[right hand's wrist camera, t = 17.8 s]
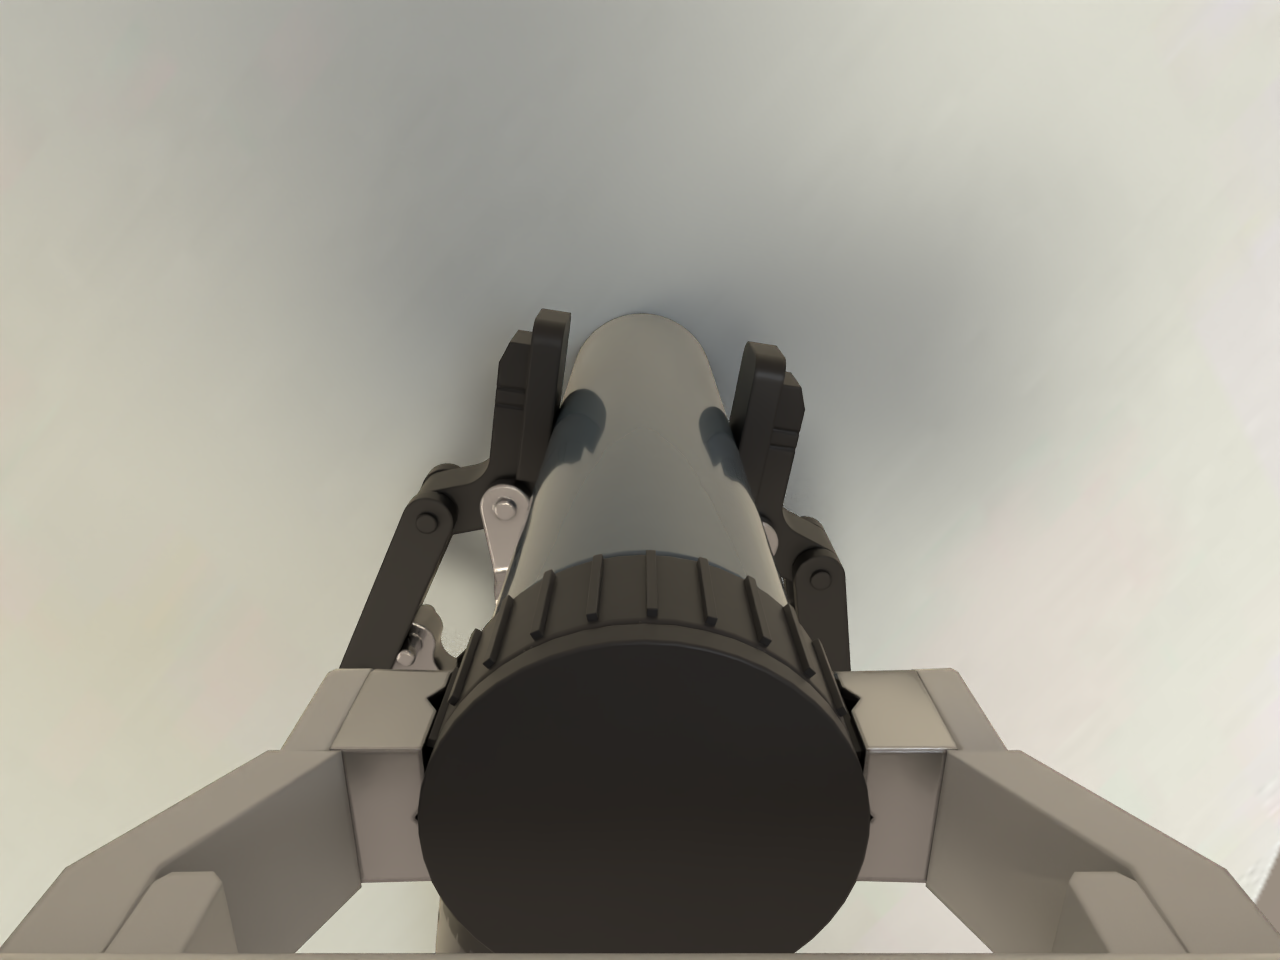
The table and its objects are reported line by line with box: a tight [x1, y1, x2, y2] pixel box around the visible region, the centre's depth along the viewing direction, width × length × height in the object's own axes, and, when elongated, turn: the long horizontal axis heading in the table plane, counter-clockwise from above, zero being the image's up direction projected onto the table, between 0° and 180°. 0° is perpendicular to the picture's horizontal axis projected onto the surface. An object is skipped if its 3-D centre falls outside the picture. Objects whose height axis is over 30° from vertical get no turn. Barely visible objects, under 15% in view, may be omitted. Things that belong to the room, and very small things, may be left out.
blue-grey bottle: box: [492, 313, 790, 618], centre depth 18 cm, size 4×4×18 cm
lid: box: [418, 550, 870, 953], centre depth 10 cm, size 5×5×2 cm
